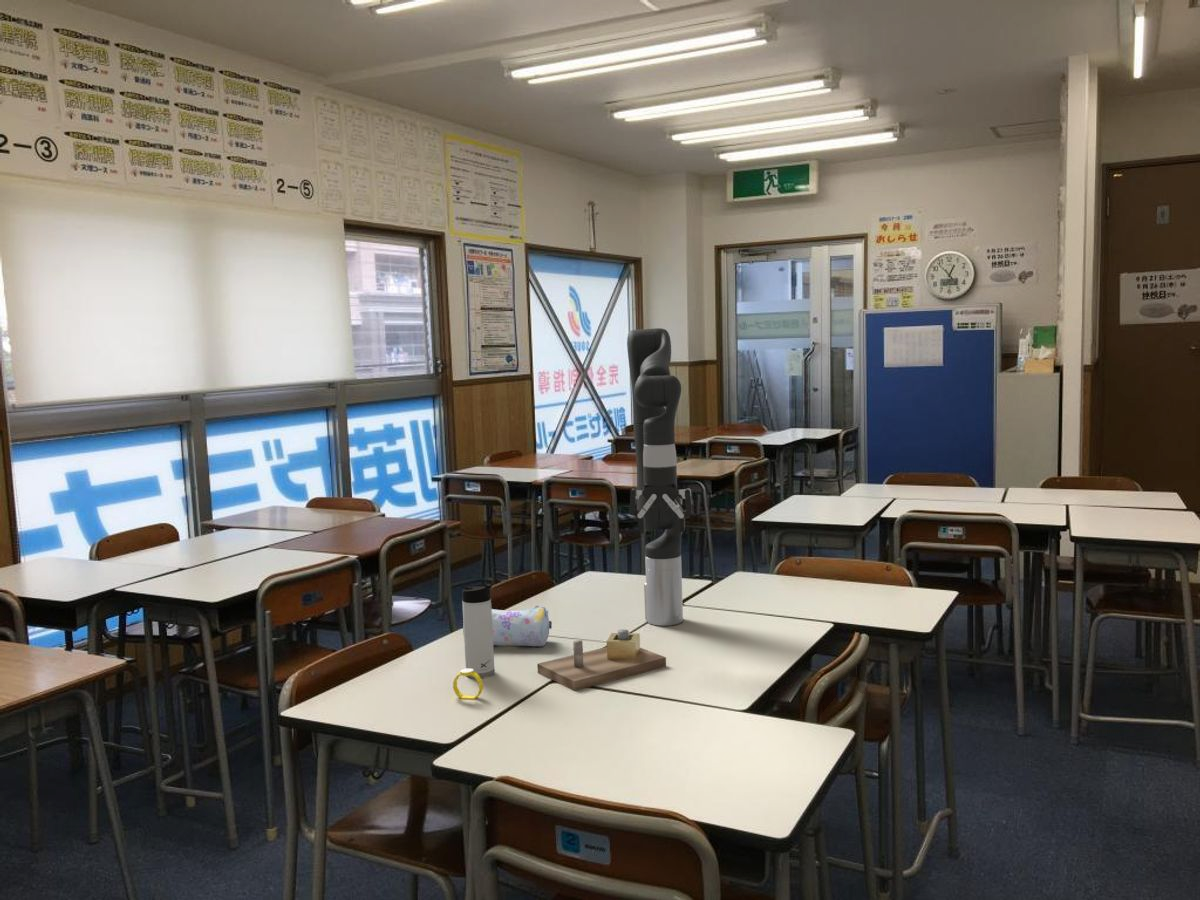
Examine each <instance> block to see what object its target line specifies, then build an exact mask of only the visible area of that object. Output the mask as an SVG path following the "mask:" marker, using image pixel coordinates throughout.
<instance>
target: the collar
mask: <svg viewBox="0 0 1200 900" xmlns="http://www.w3.org/2000/svg"><path fill="white" fill-rule="evenodd" d="M628 633H629V632H628ZM640 640H641V637H640V633H636V632H635V633H633V632H632V633H629V640H618V632H616V633H615V632H611V634H610V635H609V637H608V638H607V640H606V647H607V659H625V660H636V659H637V656H638V654H639V652H640V648H641V641H640Z"/></svg>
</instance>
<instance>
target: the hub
mask: <svg viewBox="0 0 1200 900" xmlns="http://www.w3.org/2000/svg"><path fill="white" fill-rule="evenodd" d="M617 633H618V640H629V630H628V629H625V628H624V629H619V630H617Z"/></svg>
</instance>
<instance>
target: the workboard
mask: <svg viewBox="0 0 1200 900" xmlns="http://www.w3.org/2000/svg"><path fill="white" fill-rule="evenodd" d="M572 644H573V645H572V646H573V647H572V649H573V654H572V655H568V656H563V657H560V658H555V659H552V660H547V661H543V662H539V663H537V673H538V674H539V675H542V676H544V677H545V678H548V679H550V680H552V681H554V682H556V683H559V684H560V685H562V686H564V687H566V688H569V689H571V690H573V691H578V690H579V691H580V690H582V689H583V690H584V689H586V688H591V687H593V686H594V687H595V686H597V685H601V684H604V683H605V684H606V683H608V682H612V681H616V680H619V679H620V680H621V679H623V678H627V677H630V676H636V675H638V674H642V673H646V672H650V671H653V670H657V669H660V668H661V669H662V668H665V667H667V657H666V656H664V655H661V654H658V653H656V652H653V651H650V650H647V649H645V648H642V647H640V652H639V654H638V656H637V659H636V660H625V659H607V646H605V647H601V648H597V649H592V650H589V651H584V649H583V647H584V645H583V640H582V639H581V640H580V639H576V640H573V642H572Z"/></svg>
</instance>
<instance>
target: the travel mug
mask: <svg viewBox="0 0 1200 900" xmlns="http://www.w3.org/2000/svg"><path fill="white" fill-rule="evenodd" d="M492 588H493V585H492V583H479V584H478V583H477V584H474V585H470V586H467V587H464V589H462V590H461V594H462V595H461V597H462V598H461V599H462V601H461V603H462V618H463V619H462V621H463V624H462V625H464V635H463V638H464V639H463V641H464V642H463V643H464V659H465V669H467V668H471V669H473V670H474V672H475V673H477V674H478V675H479V676H480V678H481V679H485V678H488V677H491V676H493V675H494V674H495V672H496V669H495V652H494V645H493V628H492V609H493V608H492V602H491V601H492V597H491V589H492ZM467 677H468V678H472V679H476V678H475V677H473V676H472V675H468V676H467Z"/></svg>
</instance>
